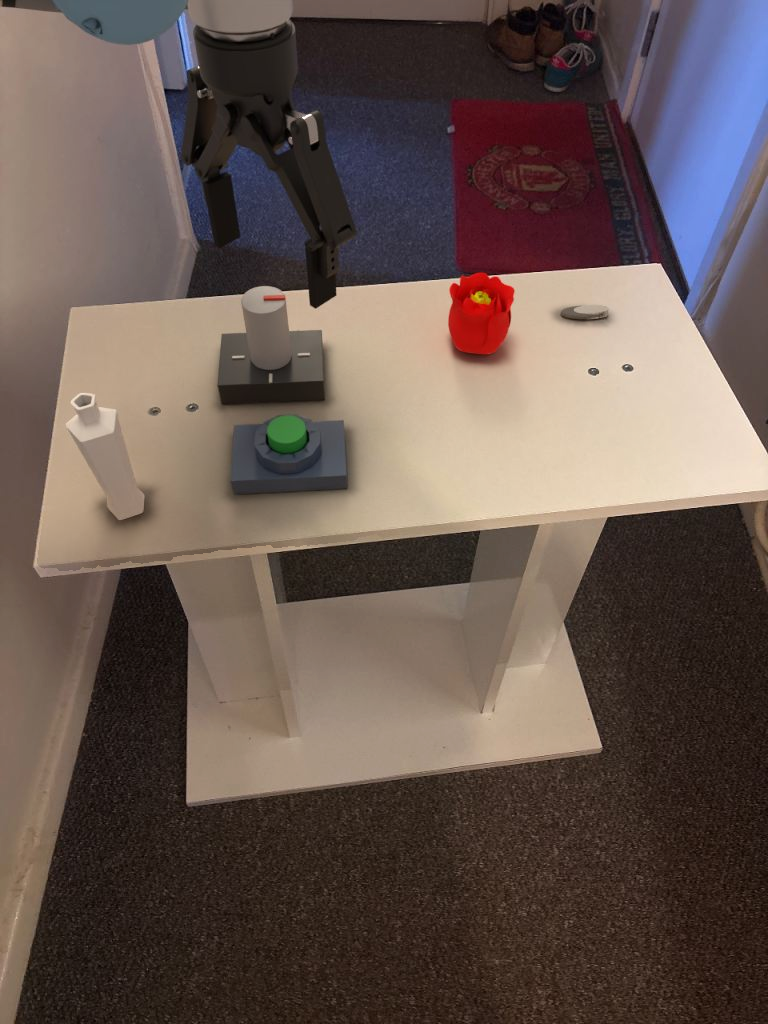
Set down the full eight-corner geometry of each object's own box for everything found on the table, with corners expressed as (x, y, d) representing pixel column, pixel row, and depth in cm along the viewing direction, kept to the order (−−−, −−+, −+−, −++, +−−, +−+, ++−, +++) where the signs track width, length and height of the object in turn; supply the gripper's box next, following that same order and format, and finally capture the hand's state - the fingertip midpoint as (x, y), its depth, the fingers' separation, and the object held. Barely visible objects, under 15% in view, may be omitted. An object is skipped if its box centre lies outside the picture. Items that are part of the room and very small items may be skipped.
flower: (517, 340, 95) (528, 287, 88) (487, 375, 91) (495, 321, 85) (463, 317, 97) (470, 264, 91) (432, 350, 94) (436, 296, 87)
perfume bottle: (143, 481, 80) (103, 376, 68) (154, 511, 78) (114, 407, 66) (100, 495, 79) (51, 391, 67) (109, 526, 77) (61, 423, 65)
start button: (268, 455, 78) (266, 444, 76) (269, 427, 80) (267, 415, 79) (307, 453, 78) (305, 442, 77) (306, 425, 80) (305, 414, 79)
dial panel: (221, 404, 87) (216, 384, 85) (225, 352, 93) (221, 332, 90) (324, 399, 88) (323, 379, 85) (322, 348, 93) (321, 328, 91)
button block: (233, 494, 79) (227, 469, 76) (236, 438, 84) (231, 413, 81) (347, 488, 80) (346, 463, 77) (344, 433, 85) (343, 408, 82)
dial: (249, 371, 86) (239, 311, 80) (251, 343, 89) (241, 284, 83) (291, 369, 87) (285, 310, 80) (291, 341, 89) (285, 282, 83)
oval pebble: (560, 322, 98) (561, 315, 97) (559, 310, 99) (560, 303, 98) (608, 321, 97) (610, 314, 96) (606, 309, 98) (607, 302, 98)
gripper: (403, 56, 52) (396, 308, 69) (178, -35, 62) (220, 204, 79) (325, 92, 49) (338, 348, 65) (101, -11, 59) (162, 234, 76)
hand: (273, 270), depth 72 cm, fingers open, 13 cm apart
